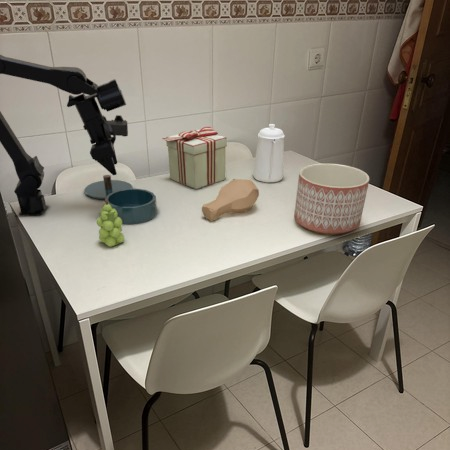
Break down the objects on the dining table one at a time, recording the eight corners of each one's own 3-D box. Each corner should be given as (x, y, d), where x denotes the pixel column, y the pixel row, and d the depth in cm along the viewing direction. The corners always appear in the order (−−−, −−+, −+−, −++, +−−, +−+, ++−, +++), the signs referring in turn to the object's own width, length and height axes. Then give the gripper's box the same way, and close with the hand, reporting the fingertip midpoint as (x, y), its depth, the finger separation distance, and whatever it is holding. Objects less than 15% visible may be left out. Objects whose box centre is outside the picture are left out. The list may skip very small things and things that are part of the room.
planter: (281, 215, 137) (286, 167, 128) (333, 206, 144) (341, 160, 135) (317, 243, 123) (325, 191, 114) (372, 231, 129) (384, 181, 121)
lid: (80, 200, 143) (77, 184, 140) (90, 182, 156) (87, 167, 153) (129, 200, 144) (127, 184, 141) (135, 183, 156) (133, 168, 153)
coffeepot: (254, 191, 153) (257, 134, 142) (251, 166, 173) (254, 115, 162) (286, 192, 153) (292, 135, 142) (279, 167, 173) (284, 116, 162)
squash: (264, 207, 142) (268, 183, 135) (218, 234, 132) (219, 209, 125) (240, 192, 147) (242, 168, 140) (194, 216, 137) (194, 191, 130)
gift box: (192, 167, 171) (190, 120, 161) (228, 179, 161) (229, 129, 151) (158, 178, 160) (155, 128, 150) (195, 192, 151) (194, 140, 141)
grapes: (97, 248, 118) (90, 204, 111) (102, 236, 123) (95, 194, 116) (122, 248, 118) (117, 204, 111) (126, 236, 124) (121, 194, 116)
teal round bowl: (103, 224, 130) (101, 207, 127) (112, 203, 142) (110, 188, 139) (154, 224, 130) (153, 207, 127) (158, 203, 142) (157, 188, 139)
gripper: (118, 116, 117) (141, 171, 126) (119, 100, 131) (140, 150, 141) (78, 130, 117) (104, 184, 126) (84, 112, 132) (107, 162, 141)
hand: (115, 169), depth 134 cm, fingers open, 9 cm apart
